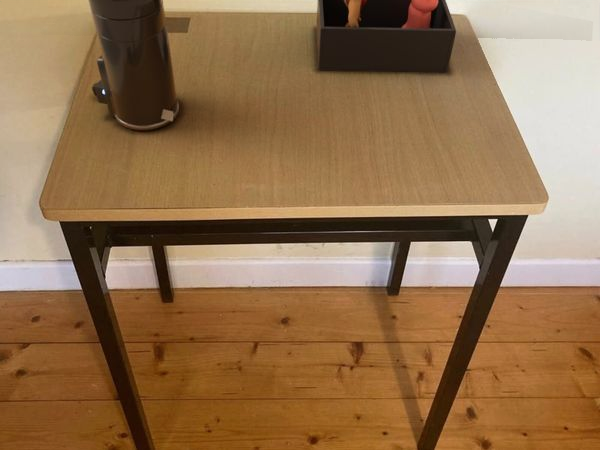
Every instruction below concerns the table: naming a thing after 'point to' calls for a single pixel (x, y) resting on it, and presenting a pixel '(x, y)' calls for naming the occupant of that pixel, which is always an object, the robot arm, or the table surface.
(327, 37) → the bin
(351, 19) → the action figure
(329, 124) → the table surface
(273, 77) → the table surface
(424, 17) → the pink tall rounded piece
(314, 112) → the table surface
